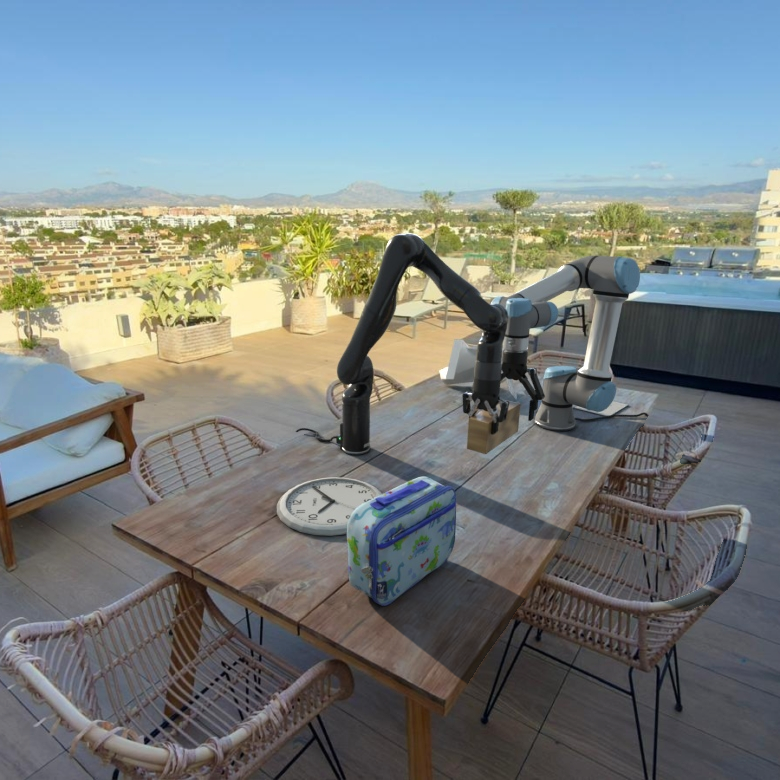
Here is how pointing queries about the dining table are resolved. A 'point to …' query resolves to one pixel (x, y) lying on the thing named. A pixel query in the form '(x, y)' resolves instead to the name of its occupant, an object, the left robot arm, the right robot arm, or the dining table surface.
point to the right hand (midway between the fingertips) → (510, 415)
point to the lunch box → (400, 538)
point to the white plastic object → (466, 366)
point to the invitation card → (610, 410)
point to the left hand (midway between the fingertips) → (482, 430)
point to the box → (481, 429)
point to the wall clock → (324, 504)
